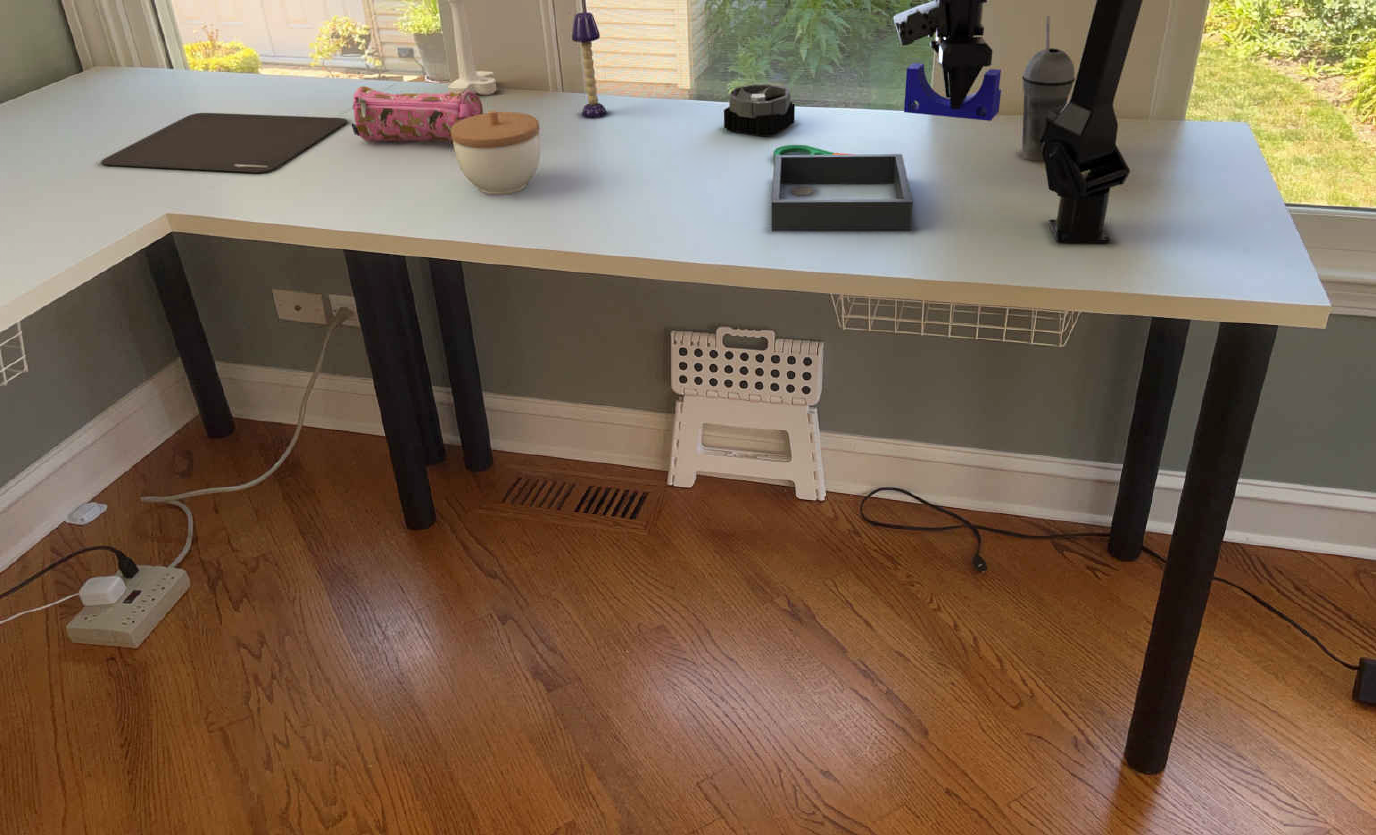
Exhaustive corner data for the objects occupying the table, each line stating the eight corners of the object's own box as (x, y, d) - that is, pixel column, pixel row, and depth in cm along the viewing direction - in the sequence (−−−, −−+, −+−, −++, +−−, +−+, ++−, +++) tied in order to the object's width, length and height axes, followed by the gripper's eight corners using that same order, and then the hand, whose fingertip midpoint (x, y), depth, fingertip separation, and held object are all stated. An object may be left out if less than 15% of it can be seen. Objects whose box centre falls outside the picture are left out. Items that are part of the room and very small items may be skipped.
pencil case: (351, 148, 180) (339, 94, 175) (378, 130, 187) (368, 77, 183) (470, 155, 175) (462, 99, 170) (494, 136, 182) (487, 82, 177)
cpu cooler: (747, 80, 184) (801, 87, 179) (747, 114, 187) (801, 121, 182) (716, 97, 177) (772, 104, 172) (717, 132, 180) (772, 140, 175)
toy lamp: (575, 117, 189) (565, 16, 180) (585, 109, 193) (576, 10, 184) (601, 118, 188) (592, 17, 179) (610, 110, 192) (603, 11, 183)
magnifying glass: (767, 163, 166) (767, 152, 165) (781, 150, 171) (781, 140, 170) (865, 174, 161) (866, 163, 160) (876, 160, 165) (877, 149, 164)
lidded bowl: (464, 206, 156) (452, 130, 150) (455, 177, 167) (444, 104, 161) (552, 194, 159) (543, 119, 153) (538, 166, 169) (530, 94, 163)
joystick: (474, 82, 210) (458, -29, 199) (509, 85, 208) (495, -28, 197) (444, 99, 201) (425, -16, 190) (480, 102, 199) (463, -15, 188)
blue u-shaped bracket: (998, 111, 151) (1003, 67, 148) (990, 120, 148) (995, 75, 144) (913, 103, 156) (916, 60, 153) (903, 112, 152) (906, 68, 149)
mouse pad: (94, 164, 178) (94, 163, 178) (194, 113, 200) (194, 112, 199) (268, 173, 171) (267, 172, 171) (351, 119, 193) (351, 118, 193)
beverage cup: (1065, 165, 161) (1086, 23, 150) (1013, 163, 162) (1031, 23, 151) (1061, 148, 167) (1081, 11, 156) (1011, 147, 168) (1028, 10, 157)
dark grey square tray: (910, 231, 143) (912, 201, 141) (771, 231, 145) (771, 202, 143) (900, 181, 158) (902, 154, 156) (774, 181, 160) (774, 155, 158)
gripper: (893, -30, 151) (887, 85, 159) (906, 0, 135) (898, 125, 144) (976, -32, 150) (965, 83, 158) (998, -3, 134) (985, 124, 143)
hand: (952, 103), depth 151 cm, fingers closed on blue u-shaped bracket, 5 cm apart
